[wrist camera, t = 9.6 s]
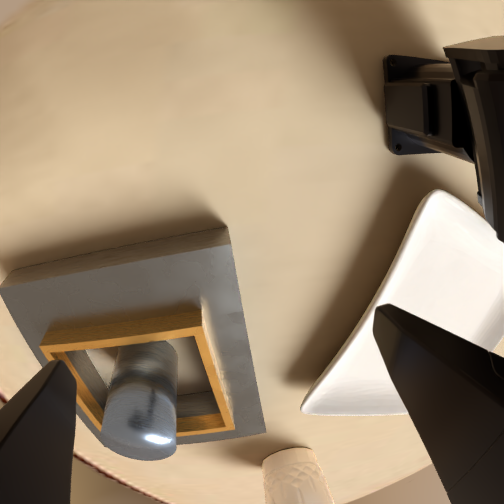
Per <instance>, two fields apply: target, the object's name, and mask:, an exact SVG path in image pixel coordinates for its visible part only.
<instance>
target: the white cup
mask: <svg viewBox="0 0 504 504" xmlns="http://www.w3.org/2000/svg"><path fill="white" fill-rule="evenodd" d="M262 472H263V478H264V490H265V500H266V504H335V502H334V500H333V497H332V494H331V492H330V489H329V487H328V484H327V481H326V479H325V477H324V475H323V472H322V469H321V468H320V467H319V465H318V462H317V459H316V456H315V454H314V452H313V450H311V449H308V448H291V449H286V450H281V451H279V452H276V453H274V454H271V455H270V456H268V457H267V458H266V459H264V460H263V463H262Z"/></svg>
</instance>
